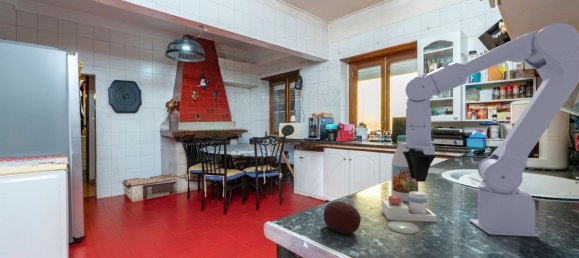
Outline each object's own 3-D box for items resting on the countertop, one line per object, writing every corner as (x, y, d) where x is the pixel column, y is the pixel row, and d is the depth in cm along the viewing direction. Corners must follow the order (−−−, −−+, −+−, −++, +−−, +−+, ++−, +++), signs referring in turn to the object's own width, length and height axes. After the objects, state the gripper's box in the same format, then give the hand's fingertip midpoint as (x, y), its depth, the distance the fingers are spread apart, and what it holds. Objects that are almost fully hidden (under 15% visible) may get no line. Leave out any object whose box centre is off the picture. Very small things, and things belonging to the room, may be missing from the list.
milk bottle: (386, 196, 84) (386, 135, 84) (405, 195, 86) (406, 135, 86) (403, 203, 77) (403, 136, 76) (424, 201, 79) (424, 136, 79)
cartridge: (422, 214, 68) (423, 191, 68) (429, 220, 64) (429, 195, 64) (406, 213, 68) (406, 191, 68) (411, 219, 64) (412, 195, 64)
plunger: (399, 210, 68) (399, 195, 68) (402, 214, 65) (402, 199, 65) (387, 209, 68) (387, 195, 68) (390, 213, 65) (390, 198, 65)
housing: (425, 212, 69) (425, 201, 69) (436, 221, 63) (436, 209, 62) (382, 211, 70) (382, 200, 70) (388, 219, 64) (388, 207, 64)
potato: (341, 220, 64) (341, 195, 64) (370, 236, 54) (370, 207, 54) (315, 225, 61) (315, 199, 61) (341, 243, 51) (341, 212, 51)
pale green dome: (412, 223, 62) (412, 221, 62) (423, 234, 55) (423, 232, 55) (384, 222, 62) (384, 220, 62) (392, 233, 56) (392, 231, 56)
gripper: (393, 126, 73) (393, 174, 74) (411, 126, 59) (411, 186, 59) (420, 126, 73) (419, 174, 73) (444, 126, 58) (444, 187, 58)
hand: (417, 179), depth 66 cm, fingers open, 3 cm apart
